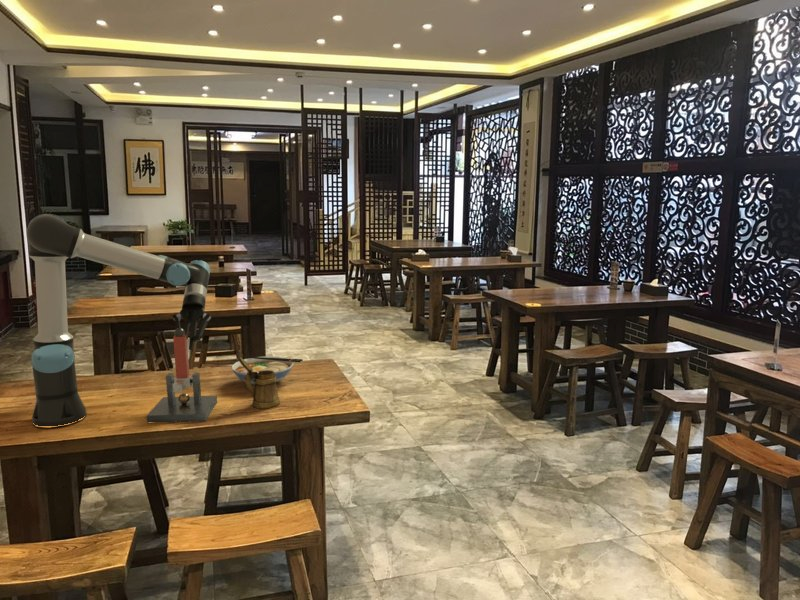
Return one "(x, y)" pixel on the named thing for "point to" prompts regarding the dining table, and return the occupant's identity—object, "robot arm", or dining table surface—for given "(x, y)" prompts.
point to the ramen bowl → (265, 366)
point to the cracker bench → (182, 404)
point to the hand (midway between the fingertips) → (185, 357)
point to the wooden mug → (261, 387)
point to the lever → (181, 361)
